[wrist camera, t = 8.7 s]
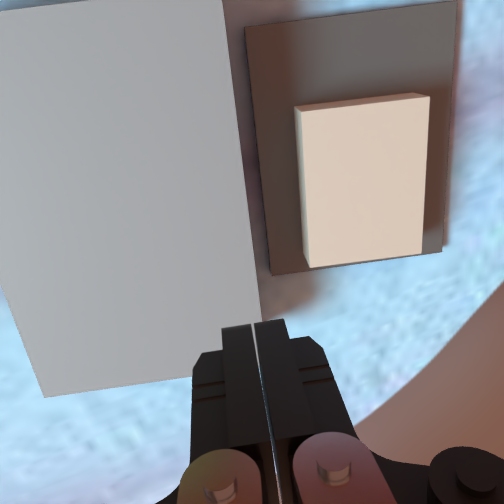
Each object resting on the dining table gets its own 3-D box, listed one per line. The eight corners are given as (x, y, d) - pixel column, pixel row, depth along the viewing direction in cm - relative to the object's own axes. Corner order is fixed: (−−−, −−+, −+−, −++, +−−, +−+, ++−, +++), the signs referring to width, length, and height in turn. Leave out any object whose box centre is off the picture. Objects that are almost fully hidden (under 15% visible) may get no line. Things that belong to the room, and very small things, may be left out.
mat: (244, 27, 22) (244, 27, 22) (452, 1, 22) (457, 0, 22) (270, 271, 27) (271, 275, 27) (438, 248, 28) (441, 252, 27)
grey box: (-47, 26, 21) (-101, 23, 17) (218, -7, 21) (220, -16, 18) (65, 352, 29) (44, 397, 25) (260, 324, 29) (267, 365, 25)
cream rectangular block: (429, 96, 22) (412, 92, 23) (301, 111, 21) (294, 106, 23) (421, 253, 25) (407, 239, 27) (309, 267, 25) (303, 252, 26)
